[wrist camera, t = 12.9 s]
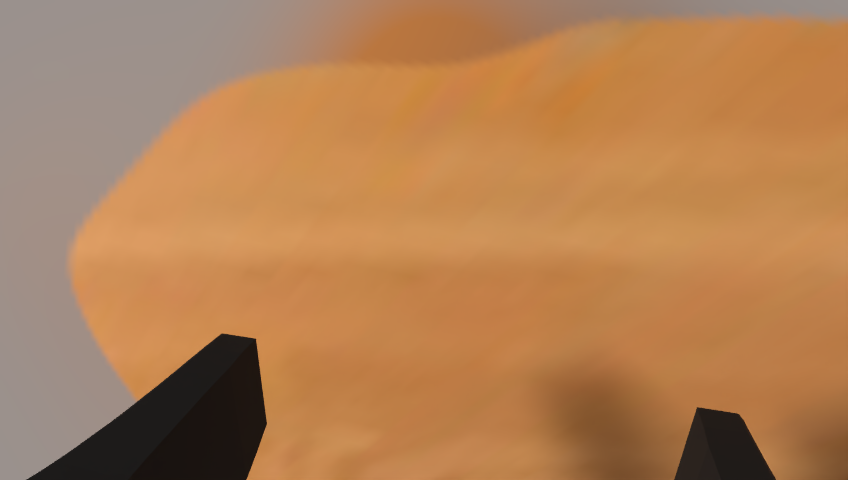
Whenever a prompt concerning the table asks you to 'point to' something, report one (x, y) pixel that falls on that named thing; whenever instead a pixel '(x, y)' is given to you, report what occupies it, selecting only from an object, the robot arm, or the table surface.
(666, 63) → the table surface
